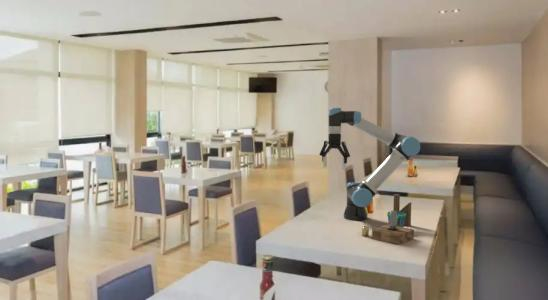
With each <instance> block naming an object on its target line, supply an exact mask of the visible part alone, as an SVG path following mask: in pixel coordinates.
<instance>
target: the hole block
mask: <svg viewBox="0 0 548 300" xmlns="http://www.w3.org/2000/svg"><path fill="white" fill-rule="evenodd" d="M414 236H415V229H412V228H408V227H404V228H403V227H398V226H397V229H396V231H391V230H390V225H389V224H384V225H382V226H379V227H376V228H372V230H371V240H375V241H379V242H380V241H381V242H385V243H390V244H395V245H398V246H399V245H403V244H405V243H407V242H409V241H411V240H414V239H415V237H414Z"/></svg>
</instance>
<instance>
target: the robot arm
mask: <svg viewBox="0 0 548 300" xmlns="http://www.w3.org/2000/svg"><path fill="white" fill-rule="evenodd" d="M342 124H347V125H349V126H350V127H353V128H355V129H356V130H358V131H360V132H363V133H365V134H367V135H369V136H371V137H373V138H375V139H377V140H378V141H381V142H383V143H385V144H386V146H388V147H389V148H391V149H392V152H391V153H390V154H389V155H388V157H387V158H385V159H384V161H383V162H382V163H381V164H380V165H379V166H377V168H376V169H375V170H374V171H373V172H372V174H370V176H369V177H368V178H367V179H366V180H361V181H360V182H347V184H346V207H345V210H344V212H343V218H344V219H346V220H351V221H364V220H367V219H368V211H367V210H366V209H367V208H366V207H368V206H369V205H370V204H371V203H372V201H373V198H374V197H375V196H376V195H377V190H378V189H379V188H380V187H381V186H382V185H383V184H384V183H385V182H386V181H387V180H388V178H389V177H390V176H392V174H393V173H394V172H395V171H396V170H397V169H398V168H399V167H400V166H401V165H402V164H403V163H405V162H408V161H409V160H410V159H411V158H412V157H414V156H417V154H418V153H419V152H420V150H421V143H420V141H419V140H418V139H417V138H416V137H415V136H412V135H403V134H399V133H397V132H391V131H390V130H387V129H386V128H383V127H381V126H380V125H378V124H375V123H374V122H371V121H369V120H367V119H365V118H363V117H362V112H361V111H360V110H342V107H330V108H329V109H328V133H329V134H328V140H324V141H323V145H322V148H321V150H320V152H319V156H321V157H322V158H321V162H322V163H323V165H322V166H323V168H327V163H328V162H327V161H328V159H327V154H328V153H329V152H330V151H331V149H332V150H333V149H335V150H338V152H339V153H340V154H341V155H342V165H341V166H342V167H341V169H342V170H346V169H347V167H346V166H347V163H348V158H349V157H351V154H350V152H349V149H348V148H347V144H346V141H345V140H344V141H341V139H342V134H341V133H342Z"/></svg>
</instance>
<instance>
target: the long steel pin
mask: <svg viewBox="0 0 548 300" xmlns="http://www.w3.org/2000/svg"><path fill="white" fill-rule="evenodd" d="M389 212H390V230H391V231H396V229H397V211H394V210H389Z"/></svg>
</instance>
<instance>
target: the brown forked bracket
mask: <svg viewBox="0 0 548 300" xmlns="http://www.w3.org/2000/svg"><path fill="white" fill-rule="evenodd" d="M400 200H401V195H400V194H397V193H396V194H395V193H394V194H393V206H392V207H393V210H394V211H397V212H403V213H406V217H405V222H404V226H406V227H410V226H411V225H412V224H411V223H412V202H408V203H407V204H406V205H405V206H403V208H401V209H400V202H401V201H400Z"/></svg>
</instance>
